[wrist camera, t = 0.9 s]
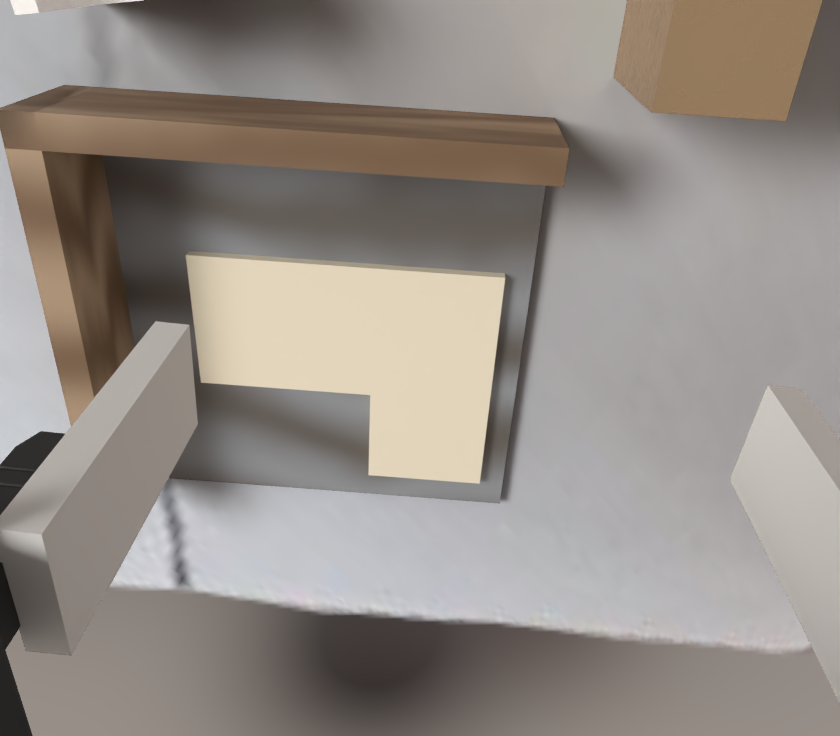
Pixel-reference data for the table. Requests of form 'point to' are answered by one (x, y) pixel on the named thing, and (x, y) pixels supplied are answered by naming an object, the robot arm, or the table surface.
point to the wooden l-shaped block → (715, 55)
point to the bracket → (55, 5)
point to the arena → (269, 246)
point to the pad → (360, 347)
